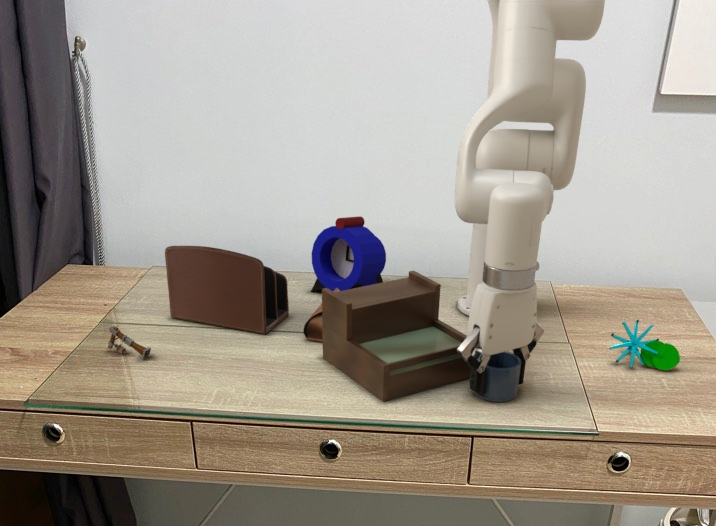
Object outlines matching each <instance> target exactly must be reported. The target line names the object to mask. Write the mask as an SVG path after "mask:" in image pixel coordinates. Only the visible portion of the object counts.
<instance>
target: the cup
mask: <svg viewBox="0 0 716 526" xmlns="http://www.w3.org/2000/svg"><path fill="white" fill-rule="evenodd" d="M481 358H482V354H480V356H479V358H478V361H479V362H480V360H481ZM521 362H522V360H521V359H520V357H519V356H517V355H515V354H514V353H513V352H510V351H506V352H502V353H498V354H494V355H491V357H490V359H489V361H488V363H487V365H486V368H485V370H484V371H486V372H487V381H486V391H485V394H484V395H483V396H480V395H478V394H477V393H475V392H474V394H475V395H476V396H477V397H478V398H480V399H482V400H485V401H488V402H495V403H502V402H503V403H504V402H509V401H512V400H514V399H515V398H516V397H517V396H518V392H519V386H520V385H519V378H520V370H521Z"/></svg>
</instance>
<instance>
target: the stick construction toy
mask: <svg viewBox="0 0 716 526" xmlns="http://www.w3.org/2000/svg"><path fill="white" fill-rule="evenodd" d="M639 322H640V320H639V319H637V320H636V321H635V323H634V328H633V332H632V330H631V329H630V327H629V325H628V324H627V323H626V322H625V321H622V323H621V325H623V327H624V329H625V332H626V334H627V336H628V338H629V339H627V338H624V337H622V336H619V335H616V334H615V333H614V332H612V333H611V334H610V337H611V338H614V339H615V340H618V341H619V342H621V343H620V344H615V345H612V346H609V348H608V349H609V351H610V350H613V349H621V348H626V349H625V350H624V351H623V353H621V355H619V356H618V358H617V359H616V360H615V364H618V363H619V362H620V361H621V360H622V359H623V358H624V357H625V356H626V355H628V354H629V353H630V361H629V362H630V363H629V369H632V368H633V366H634V361H635V357H637V359H638V361H639V362H640V363H641V365H642V367H646V366H647V367H648V368H652V369H657V370H659V371H670V370H672V369H674V368H675V367H677V366H678V365H679V364H680V362H681V356H680V355H681V354H680V352H679V350H678V349H677V347H675V345H673V344H672V343H667V342H665V343H664V342H663V341H660V339H659V338H656V339H649V340H642V339H644V337H645V336H646V335H647V334H648V333H649V332H650V331H651V330H652V328H653V327H654V324H650V326H648V327H647V328H646V329H645V330H644V331H643V332H642V333H641V334H640V335H639V336H638V331H639V329H638V328H639ZM641 340H642V341H641ZM639 349H640V350H639Z"/></svg>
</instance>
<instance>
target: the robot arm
mask: <svg viewBox="0 0 716 526" xmlns="http://www.w3.org/2000/svg"><path fill="white" fill-rule="evenodd" d="M605 2H606V0H487V4H488V7H489V12H490V16H491V22H492V23H491V24H492V25H491V26H492V35H491V48H490V59H489V60H490V61H489V68H488V69H489V70H488V83H487V97H486V98H487V99H486V101H485V102H483V104H482V105H481V106H480V107H479V108H478V110H477V111H476V112H475V113H474V115H472V117H471V118H470V120H469V122H468V123H467V125H466V127H465V129H464V131H463V134H462V135H461V138H460V142H459V146H458V151H457V156H456V158H457V159H456V169H455V170H456V171H455V172H456V173H455V184H454V208H455V213H456V215H457V217H458V218H459V219H460V220H461V221H462V222H464V223H466V224H472V231H471V242H470V253H469V263H468V277H467V288H466V294H464V295H462V296H461V297H459V299H458V300H457V308H458V310H459V311H460V312H461V313H462V314H464V315H465V316H468V321H467V322H468V323H467V328H466V335H467V337H466V339H465V340H464V341H463V342H462V344H461V345H460V346H459V347H458V348H457V352H458V354H459V355H460V356H461V357H462V358H463V360H464V361H465V362H466V363H467V364H468V366H469V367H471V374H470V378H469V390H470V391H472V392H474V394H475V393H477V394H478V395H480V396H483V395H484V394H485V391H486V381H487V372H486V371H484V370H485V368H486V365H487V363H488V361H489V359H490V357H491V355H494V354H498V353H502V352H510V351H512V353H513V354H515V355H517V356H519V357H520V359H521V360H522V362H521V370H520V378H519V385H518V386H520V385H521V386H522V385H523V384H524V380H525V379H524V378H525V372H526V365H527V361H528V360H529V359H530V358H531V353H532V352H533V350H535V348H536V346H537V343H538V342H539V341H540V339H541V338H542V336H543V335H544V333H545V330H544V329H543V327H542V326H541V325H540V324H539V323H537V311H538V286H537V283H536V281H535V280H536V272H537V271H539V269H540V263H539V261H538V256H539V255H538V254H539V248H540V240H541V234H542V226H543V222H544V220H545V219H546V217H547V215H550V214H551V211H552V206H553V203H554V199H555V198H554V192H555V191H561V190H563V189H565V188H567V187H568V186H569V185H570V184H571V182H572V179H573V176H574V173H575V168H576V161H577V156H578V150H579V149H578V148H579V143H580V135H581V127H582V121H583V115H584V107H585V101H586V92H587V91H586V90H587V89H586V88H587V80H586V78H587V77H586V72H585V69H584V66H583V65H582V63H580V62H579V61H577V60H575V59H570V58H558V57H556V54H557V53H556V52H557V41H578V42H579V41H581V42H582V41H589V40H591V39H592V38H594V37H595V36H596V34H597V33H598V31H599V29H600V27H601V24H602V22H603V16H604V11H605V4H606V3H605ZM503 122H508V123H509V122H511V123H534V124H535V123H537V124H550V125H551V126H552V128H553V129H552V130H551V129H550V130H549V129H547V130H546V129H528V128H498V129H497V128H496V129H493V128H495V127H496V126H497V125H499V124H501V123H503ZM473 347H475V348H474V350H473V353H472V354H471V349H472V348H473ZM480 354H482V358H481V360H480V362H479V361H478V358H479V356H480Z"/></svg>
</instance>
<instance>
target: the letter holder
mask: <svg viewBox="0 0 716 526" xmlns="http://www.w3.org/2000/svg"><path fill="white" fill-rule="evenodd" d="M164 259H165V268H166V281H167V290H168V300H169V301H168V302H169V313H170V317H171V319H176V320H181V321H182V320H183V321H188V322H193V323H199V324H206V325H210V326H217V327H221V328H227V329H232V330H233V329H234V330H239V331H243V332H248V333H255V334H261V335H267V334H268V333H269V332H270V331H271V330H272V329H274V328H276V326H278V325H279V324H280V323H281V322H283V321H284V320H285V319H287V318H288V317H289V315H290V313H289V310H290V308H289V307H290V306H289V293H288V292H289V290H288V288H289V287H288V279H287V277H286V276H285V275H284V274H283V273H280V272H277V271H275V270H274V269H273V268H271V267H269V266H266V265H264V263H263V261H262V260H260V259H259V258H257V257H255V256H251V255H248V254H244V253H241V252H237V251H232V250H228V249H222V248H217V247H212V246H201V245H169V246H167V247H165V249H164Z"/></svg>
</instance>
